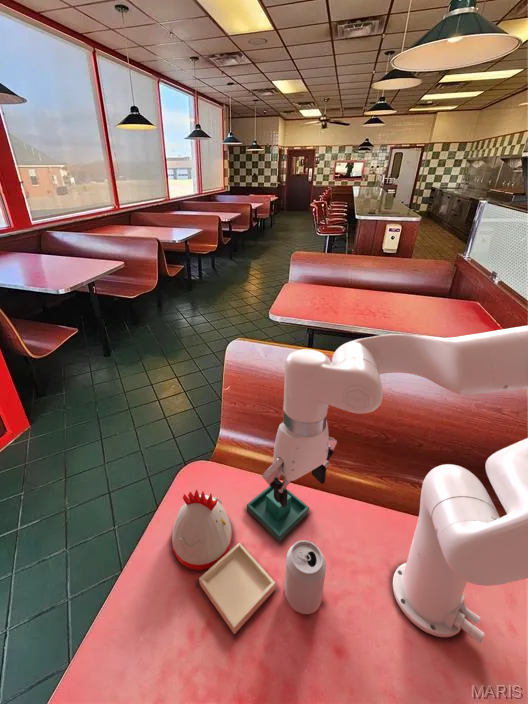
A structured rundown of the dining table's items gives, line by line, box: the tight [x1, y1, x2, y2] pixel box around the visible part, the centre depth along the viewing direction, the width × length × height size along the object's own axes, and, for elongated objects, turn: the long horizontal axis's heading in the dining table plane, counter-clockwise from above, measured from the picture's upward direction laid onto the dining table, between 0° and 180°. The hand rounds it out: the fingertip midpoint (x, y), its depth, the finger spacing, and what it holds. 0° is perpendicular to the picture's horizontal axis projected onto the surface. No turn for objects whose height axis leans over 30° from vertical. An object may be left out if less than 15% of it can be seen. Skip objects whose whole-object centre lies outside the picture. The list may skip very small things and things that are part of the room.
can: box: [283, 539, 327, 615], centre depth 65 cm, size 8×8×12 cm
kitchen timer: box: [171, 488, 233, 571], centre depth 75 cm, size 14×14×15 cm
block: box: [266, 490, 291, 520], centre depth 83 cm, size 4×4×4 cm
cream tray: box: [198, 541, 277, 635], centre depth 68 cm, size 11×11×2 cm
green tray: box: [246, 485, 310, 543], centre depth 84 cm, size 11×11×2 cm
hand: (299, 489), depth 64 cm, fingers open, 9 cm apart
